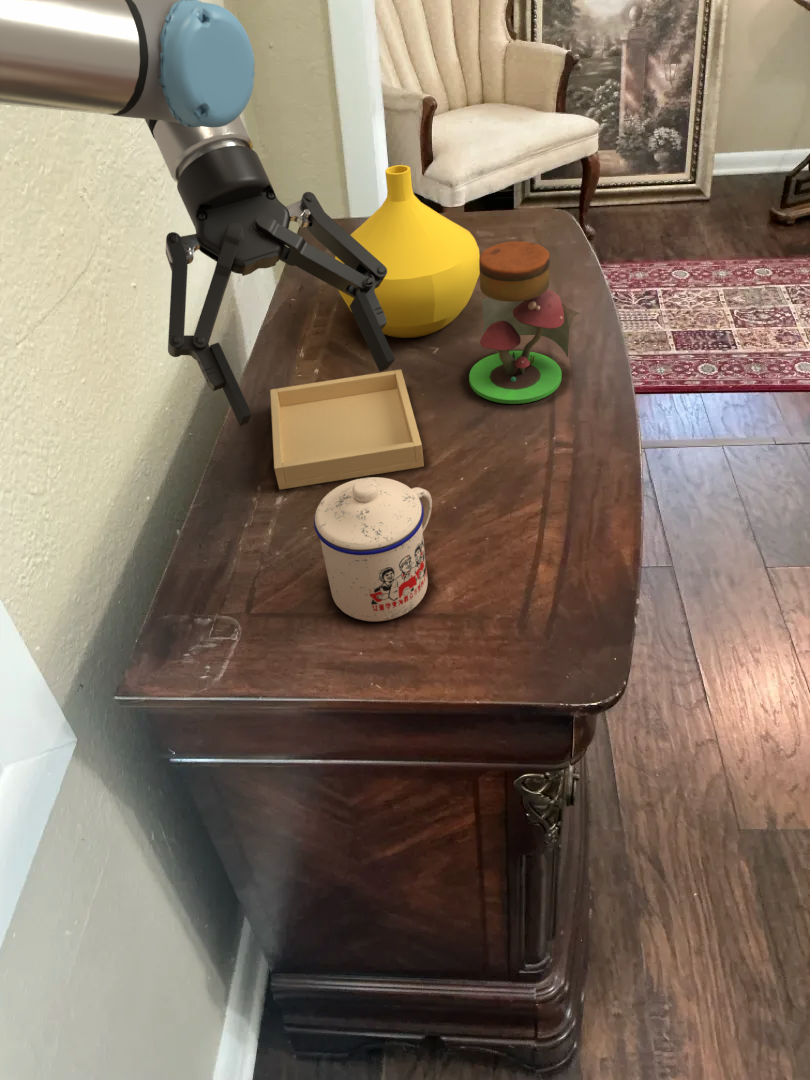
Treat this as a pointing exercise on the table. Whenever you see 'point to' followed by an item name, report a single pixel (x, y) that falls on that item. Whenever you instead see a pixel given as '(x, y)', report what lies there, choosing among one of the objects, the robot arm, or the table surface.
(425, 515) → the teacup with lid
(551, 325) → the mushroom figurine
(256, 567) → the table surface
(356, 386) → the wooden tray
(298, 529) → the table surface
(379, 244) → the vase
